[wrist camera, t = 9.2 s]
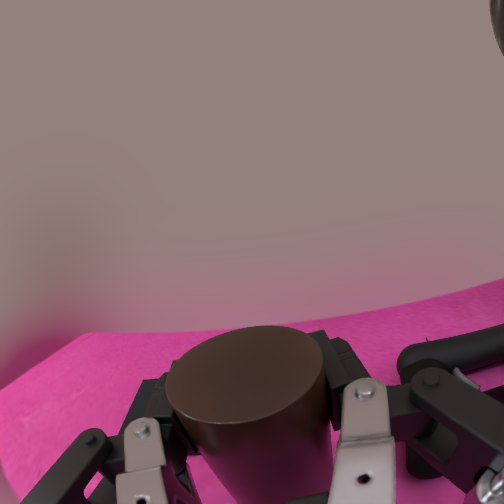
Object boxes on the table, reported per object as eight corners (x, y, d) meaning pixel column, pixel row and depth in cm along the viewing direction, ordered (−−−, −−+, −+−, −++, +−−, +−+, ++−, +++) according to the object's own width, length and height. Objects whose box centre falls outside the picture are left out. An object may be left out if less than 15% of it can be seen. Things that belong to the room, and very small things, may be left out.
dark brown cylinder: (322, 447, 12) (303, 313, 10) (343, 513, 7) (345, 398, 5) (239, 463, 12) (180, 339, 10) (240, 531, 7) (147, 429, 5)
